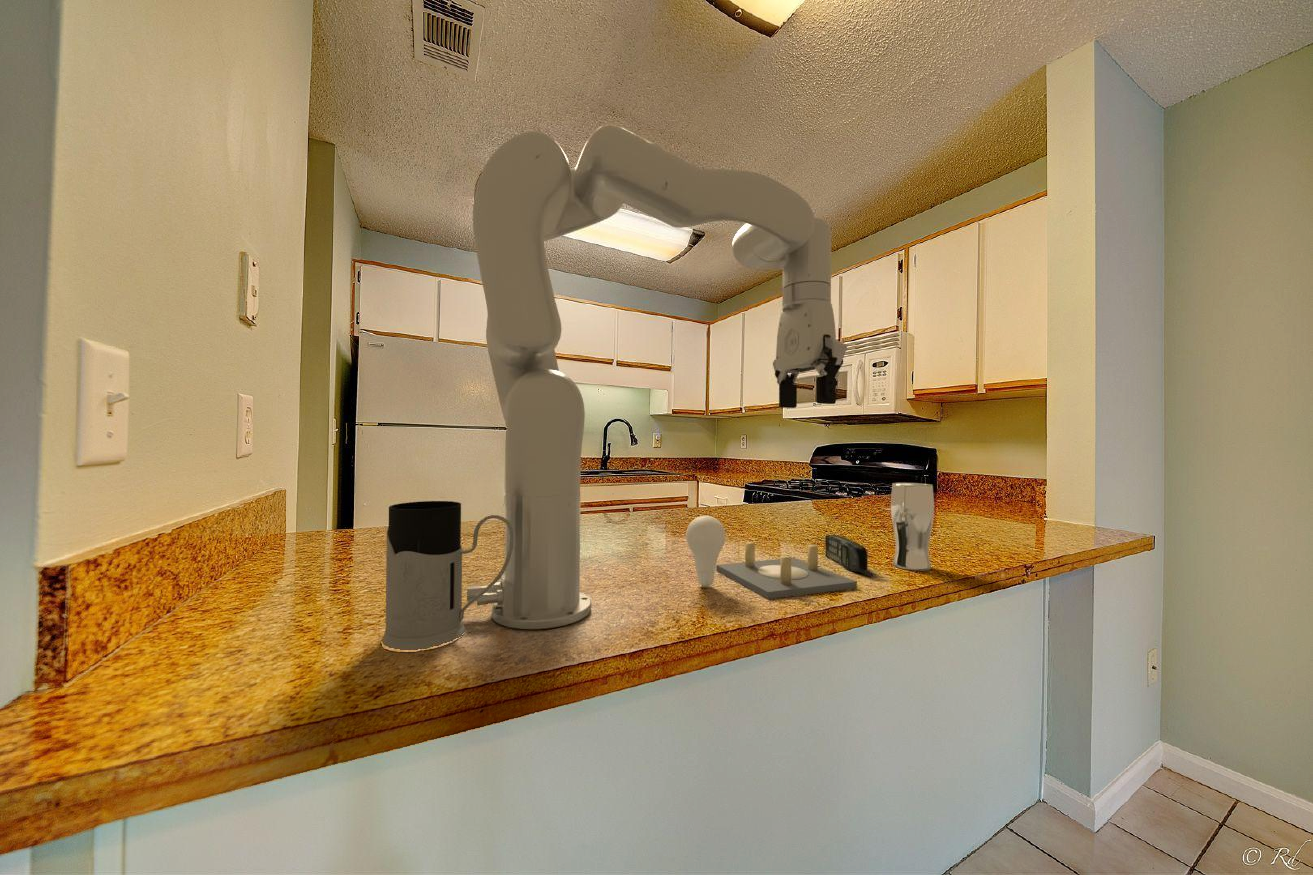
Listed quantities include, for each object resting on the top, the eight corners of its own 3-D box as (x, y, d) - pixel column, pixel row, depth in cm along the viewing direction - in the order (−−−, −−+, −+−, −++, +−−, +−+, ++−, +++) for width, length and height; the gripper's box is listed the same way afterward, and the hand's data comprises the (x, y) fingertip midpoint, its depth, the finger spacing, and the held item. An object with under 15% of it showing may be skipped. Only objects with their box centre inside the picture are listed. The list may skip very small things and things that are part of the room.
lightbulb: (727, 593, 71) (728, 519, 71) (686, 593, 71) (686, 518, 71) (722, 581, 77) (723, 513, 77) (684, 581, 77) (685, 512, 77)
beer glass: (882, 564, 89) (882, 483, 89) (907, 560, 92) (908, 482, 92) (916, 573, 83) (916, 486, 83) (942, 569, 86) (943, 485, 86)
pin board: (767, 598, 69) (768, 564, 69) (716, 570, 84) (716, 541, 84) (856, 588, 74) (857, 555, 74) (793, 563, 89) (793, 536, 89)
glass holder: (401, 622, 59) (402, 500, 59) (519, 619, 60) (520, 499, 60) (364, 654, 50) (366, 510, 50) (504, 649, 52) (505, 509, 52)
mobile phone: (822, 533, 95) (859, 547, 80) (837, 532, 95) (877, 547, 80) (822, 558, 95) (860, 577, 80) (837, 558, 95) (877, 577, 80)
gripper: (757, 311, 85) (757, 408, 85) (822, 281, 69) (822, 400, 68) (793, 315, 87) (793, 409, 87) (864, 287, 71) (864, 402, 71)
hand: (805, 405), depth 78 cm, fingers open, 9 cm apart
